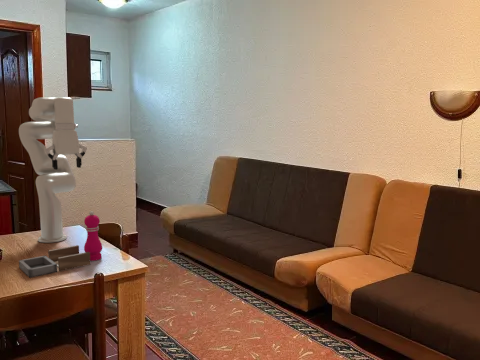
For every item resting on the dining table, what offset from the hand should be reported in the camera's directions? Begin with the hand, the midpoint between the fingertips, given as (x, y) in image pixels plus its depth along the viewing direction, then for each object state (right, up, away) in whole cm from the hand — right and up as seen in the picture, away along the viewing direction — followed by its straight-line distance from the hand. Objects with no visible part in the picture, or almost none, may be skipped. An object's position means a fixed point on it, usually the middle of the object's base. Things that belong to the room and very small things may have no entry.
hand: (67, 168), depth 195 cm
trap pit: (-5, -40, -17) cm, 43 cm away
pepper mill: (+12, -38, -4) cm, 40 cm away
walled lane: (+4, -38, -10) cm, 40 cm away
